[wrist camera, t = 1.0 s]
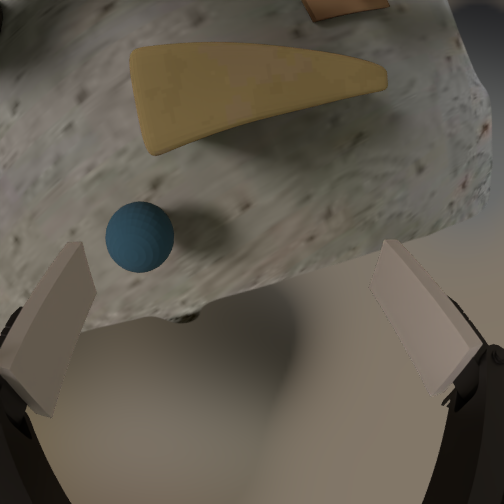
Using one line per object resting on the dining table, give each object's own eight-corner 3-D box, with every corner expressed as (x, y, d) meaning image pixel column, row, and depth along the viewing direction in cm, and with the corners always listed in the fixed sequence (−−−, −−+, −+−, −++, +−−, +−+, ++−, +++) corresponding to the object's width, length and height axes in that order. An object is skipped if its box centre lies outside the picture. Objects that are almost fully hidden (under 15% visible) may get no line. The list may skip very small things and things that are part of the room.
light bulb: (173, 176, 37) (156, 213, 27) (186, 230, 41) (177, 282, 31) (117, 189, 36) (84, 229, 26) (134, 240, 41) (111, 291, 31)
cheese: (333, 45, 29) (395, 30, 16) (339, 113, 34) (400, 132, 22) (160, 63, 28) (122, 49, 16) (172, 133, 34) (144, 162, 21)
